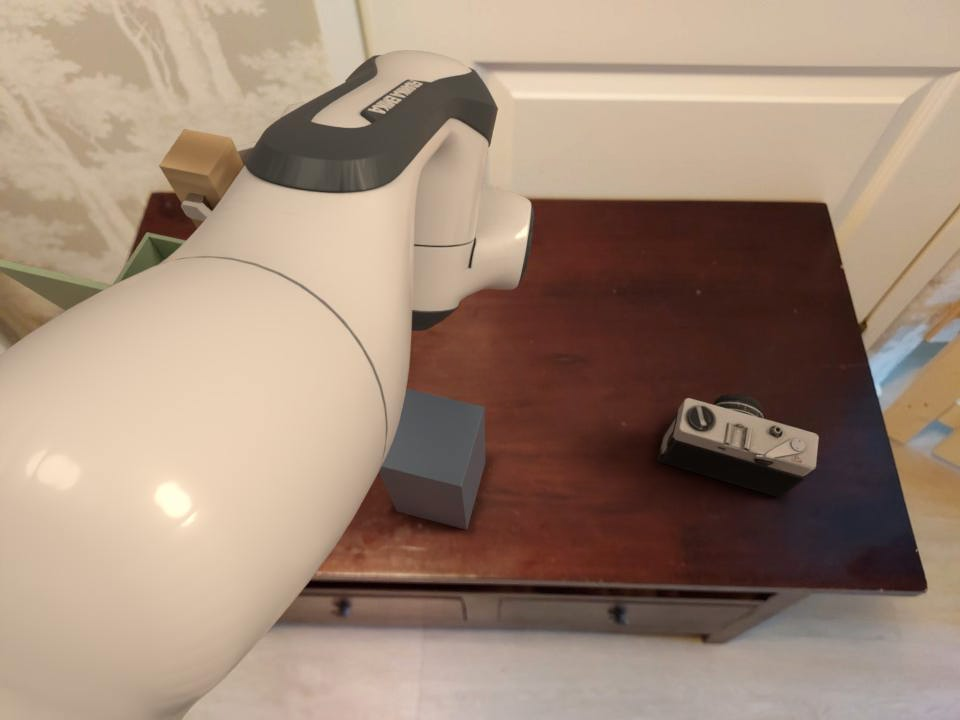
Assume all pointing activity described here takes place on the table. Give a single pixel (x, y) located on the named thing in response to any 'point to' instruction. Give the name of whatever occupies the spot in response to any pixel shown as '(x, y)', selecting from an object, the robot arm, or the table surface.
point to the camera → (738, 445)
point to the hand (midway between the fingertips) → (202, 180)
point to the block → (201, 166)
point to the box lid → (53, 284)
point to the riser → (436, 458)
